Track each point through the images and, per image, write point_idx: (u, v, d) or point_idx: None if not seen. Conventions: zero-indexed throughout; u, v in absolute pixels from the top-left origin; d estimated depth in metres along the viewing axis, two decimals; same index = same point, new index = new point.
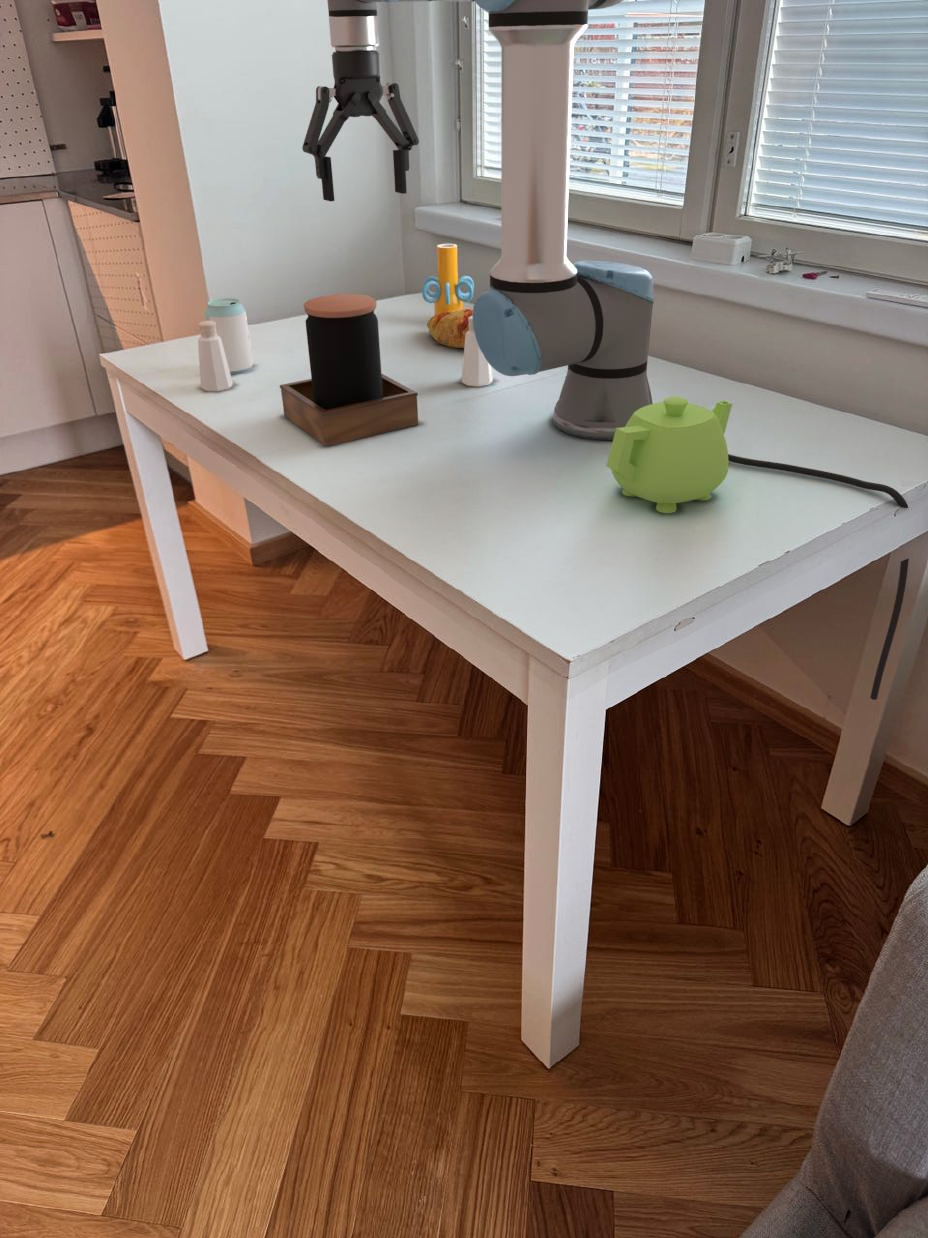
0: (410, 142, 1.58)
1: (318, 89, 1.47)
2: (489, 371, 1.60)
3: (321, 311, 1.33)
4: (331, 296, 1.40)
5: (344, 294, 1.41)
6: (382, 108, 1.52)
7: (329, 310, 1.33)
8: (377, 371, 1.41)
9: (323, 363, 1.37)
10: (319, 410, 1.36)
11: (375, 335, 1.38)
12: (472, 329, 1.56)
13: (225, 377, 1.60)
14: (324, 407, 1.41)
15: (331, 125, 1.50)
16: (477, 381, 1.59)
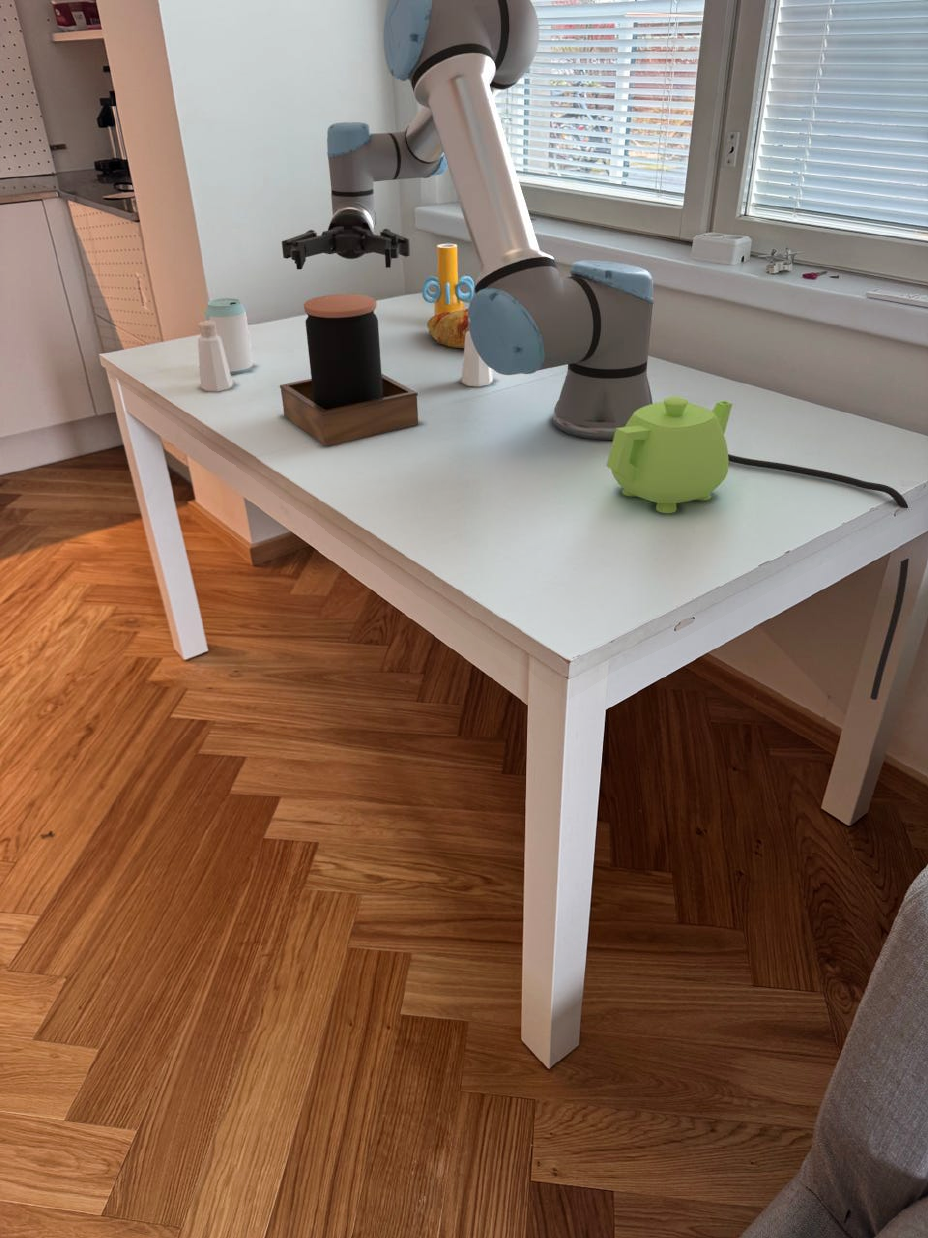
0: (400, 242, 1.50)
1: None
2: (489, 371, 1.60)
3: (321, 311, 1.33)
4: (331, 296, 1.40)
5: (344, 294, 1.41)
6: (367, 230, 1.53)
7: (329, 310, 1.33)
8: (377, 371, 1.41)
9: (323, 363, 1.37)
10: (319, 410, 1.36)
11: (375, 335, 1.38)
12: None
13: (225, 377, 1.60)
14: (324, 407, 1.41)
15: None
16: (477, 381, 1.59)
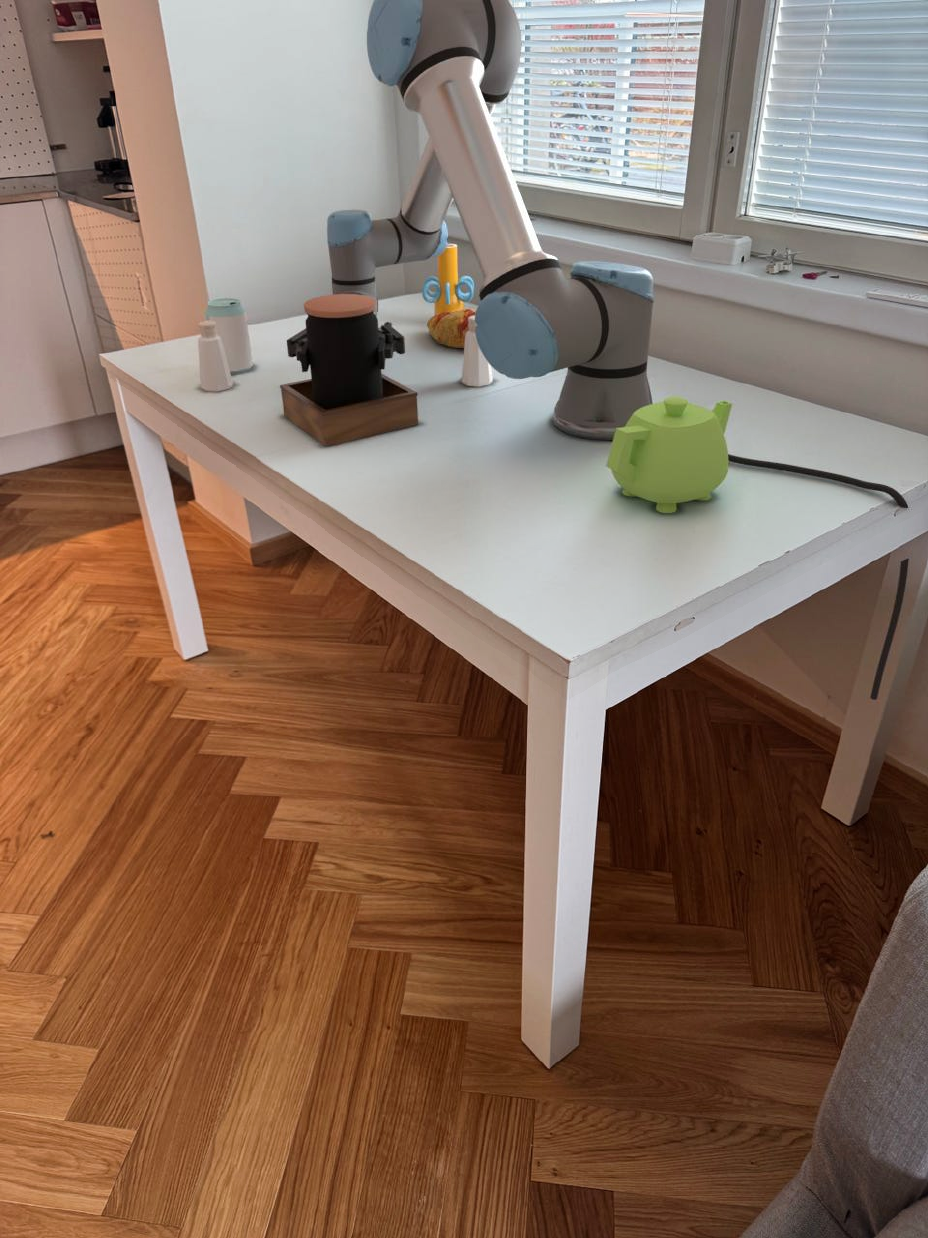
0: (395, 340, 1.44)
1: None
2: (489, 371, 1.60)
3: (321, 311, 1.33)
4: (331, 296, 1.40)
5: (344, 294, 1.41)
6: None
7: (329, 310, 1.33)
8: (377, 371, 1.41)
9: (323, 363, 1.37)
10: (319, 410, 1.36)
11: (375, 335, 1.38)
12: (472, 329, 1.56)
13: (225, 377, 1.60)
14: (324, 407, 1.41)
15: None
16: (477, 381, 1.59)
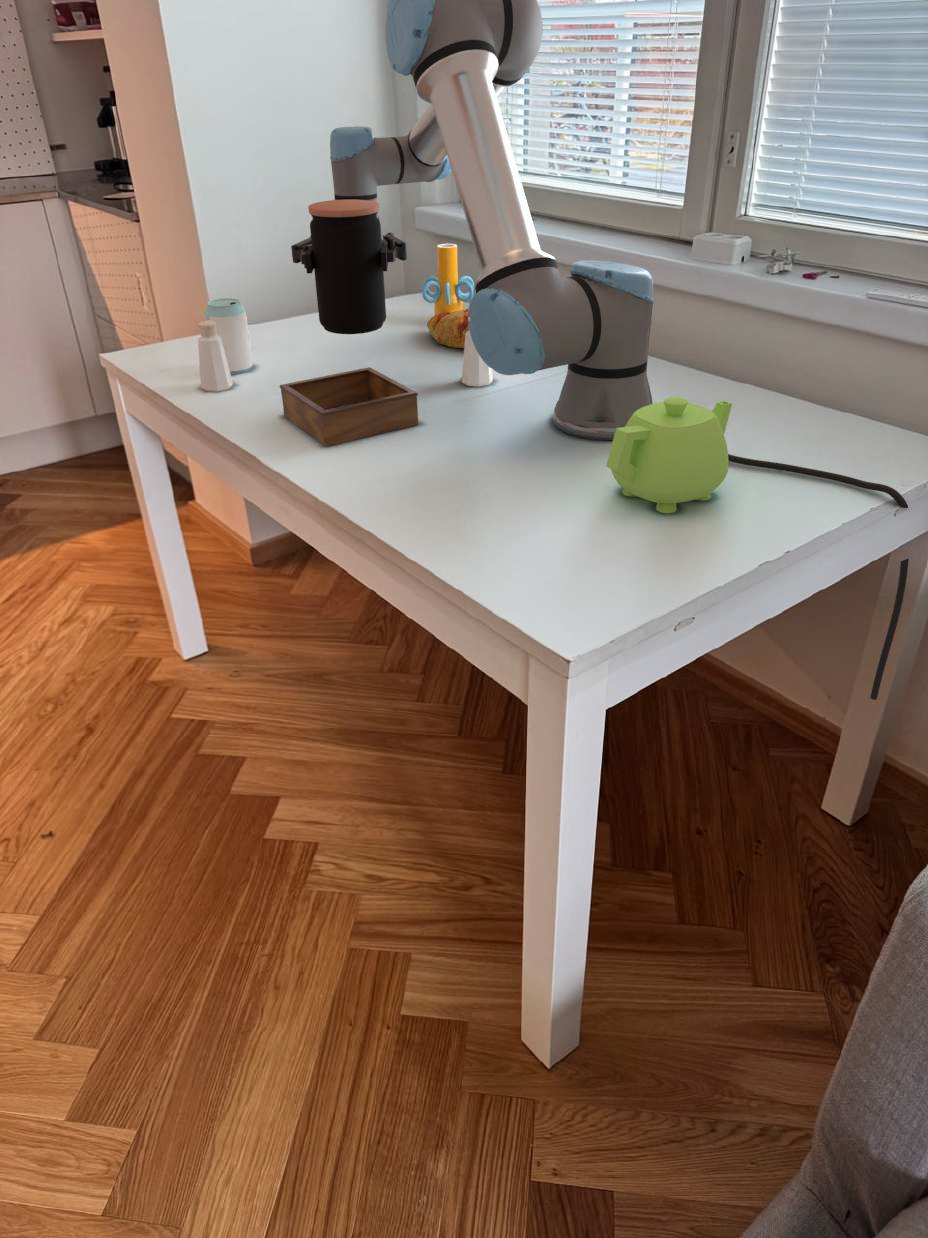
0: (397, 246, 1.47)
1: None
2: (489, 371, 1.60)
3: (325, 210, 1.37)
4: (335, 201, 1.44)
5: None
6: None
7: (333, 209, 1.37)
8: (380, 274, 1.44)
9: (327, 264, 1.41)
10: (319, 410, 1.36)
11: (378, 237, 1.42)
12: None
13: (225, 377, 1.60)
14: (328, 310, 1.45)
15: None
16: (477, 381, 1.59)
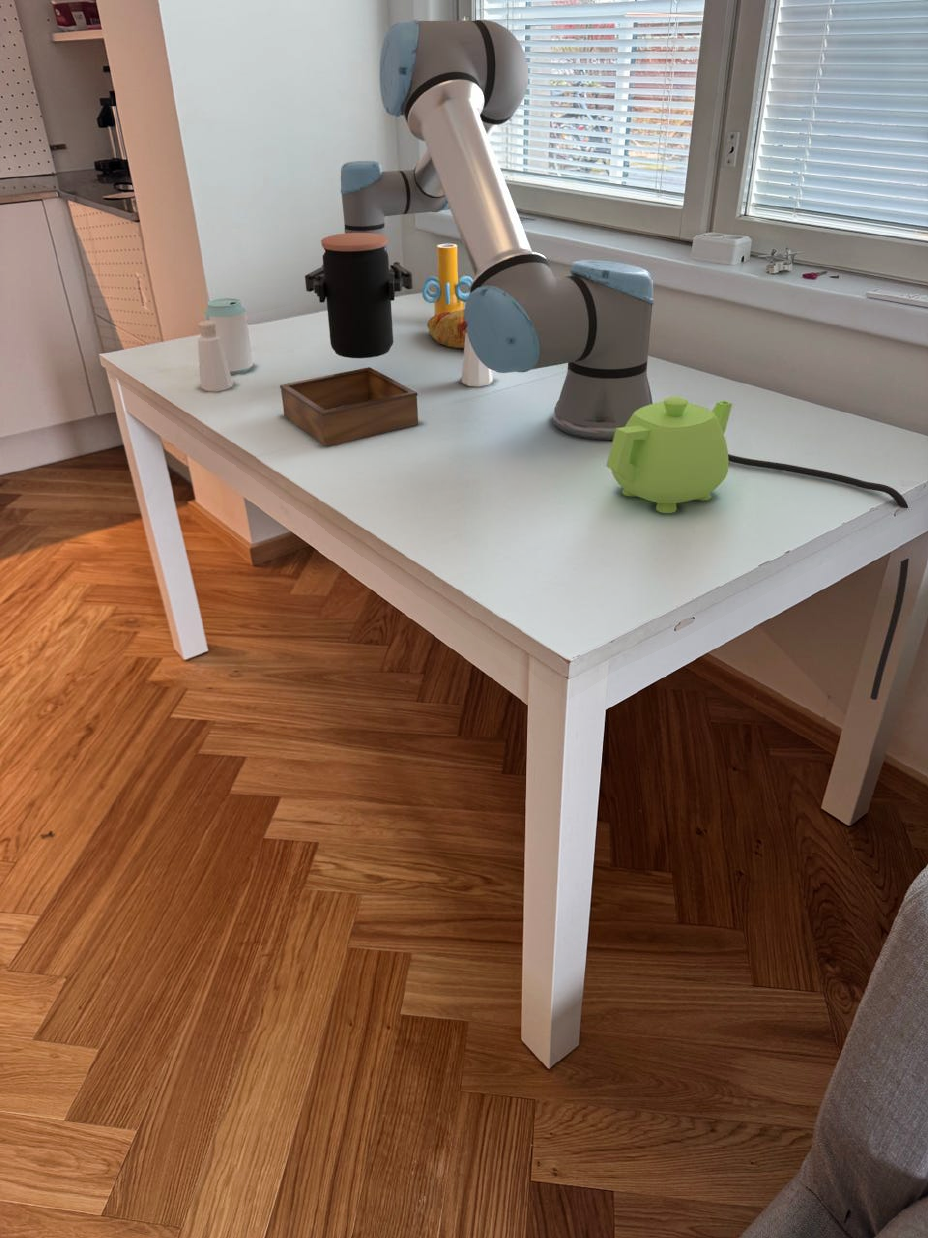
0: (403, 276, 1.58)
1: None
2: (489, 371, 1.60)
3: (337, 245, 1.47)
4: (346, 234, 1.54)
5: (357, 233, 1.55)
6: None
7: (345, 244, 1.47)
8: (387, 303, 1.55)
9: (338, 294, 1.51)
10: (319, 410, 1.36)
11: (386, 269, 1.52)
12: None
13: (225, 377, 1.60)
14: (339, 336, 1.55)
15: None
16: (477, 381, 1.59)
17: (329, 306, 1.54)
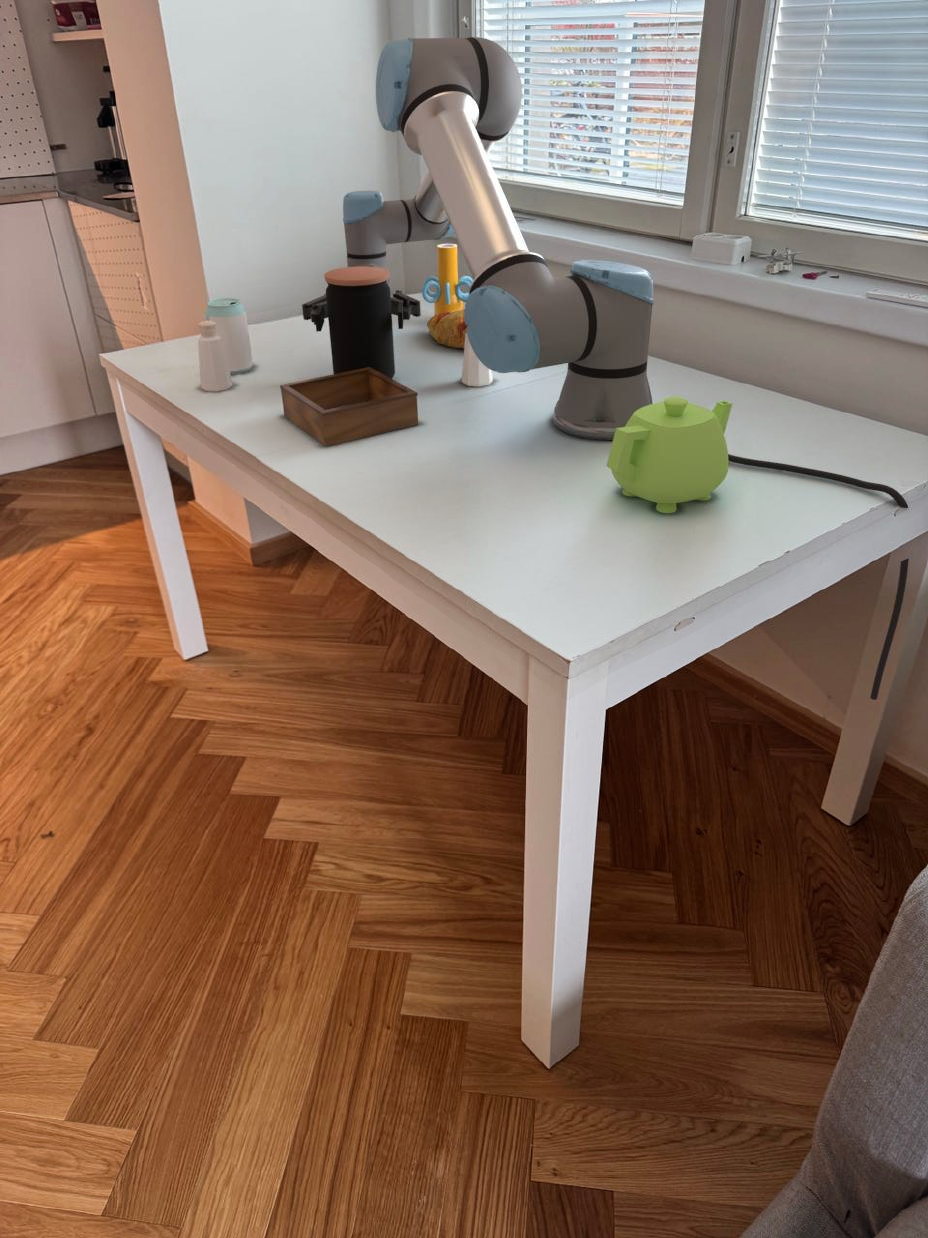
0: (412, 304, 1.61)
1: None
2: (489, 371, 1.60)
3: (340, 280, 1.50)
4: (348, 268, 1.57)
5: (360, 266, 1.58)
6: None
7: (347, 279, 1.50)
8: (389, 335, 1.58)
9: (341, 327, 1.54)
10: (319, 410, 1.36)
11: (388, 302, 1.55)
12: None
13: (225, 377, 1.60)
14: (342, 367, 1.58)
15: None
16: (477, 381, 1.59)
17: (332, 338, 1.57)
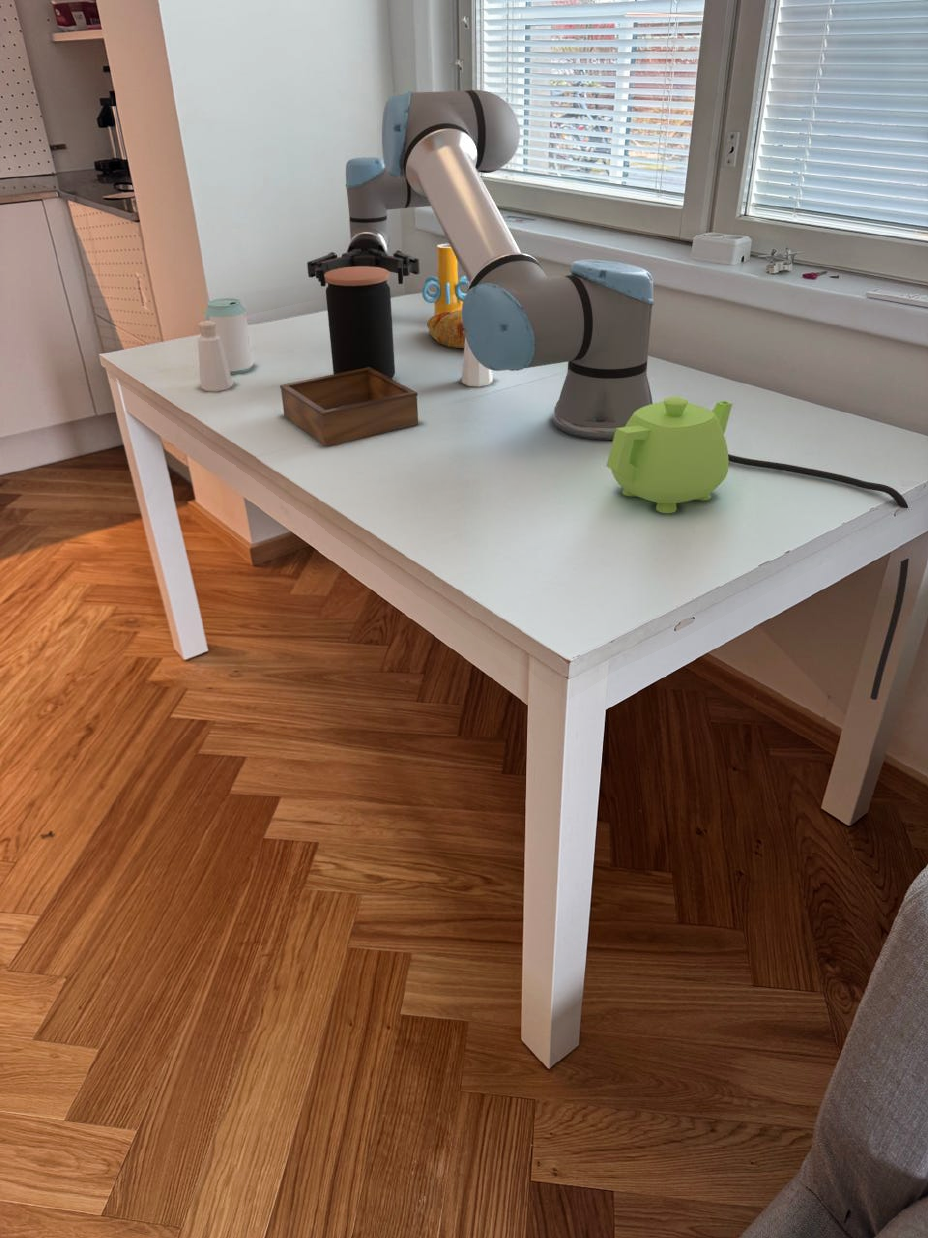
0: (411, 262, 1.70)
1: None
2: (489, 371, 1.60)
3: (340, 280, 1.50)
4: (348, 268, 1.57)
5: (360, 266, 1.58)
6: (382, 251, 1.74)
7: (347, 279, 1.50)
8: (389, 335, 1.58)
9: (341, 327, 1.54)
10: (319, 410, 1.36)
11: (388, 302, 1.55)
12: None
13: (225, 377, 1.60)
14: (342, 367, 1.58)
15: None
16: (477, 381, 1.59)
17: (332, 338, 1.57)
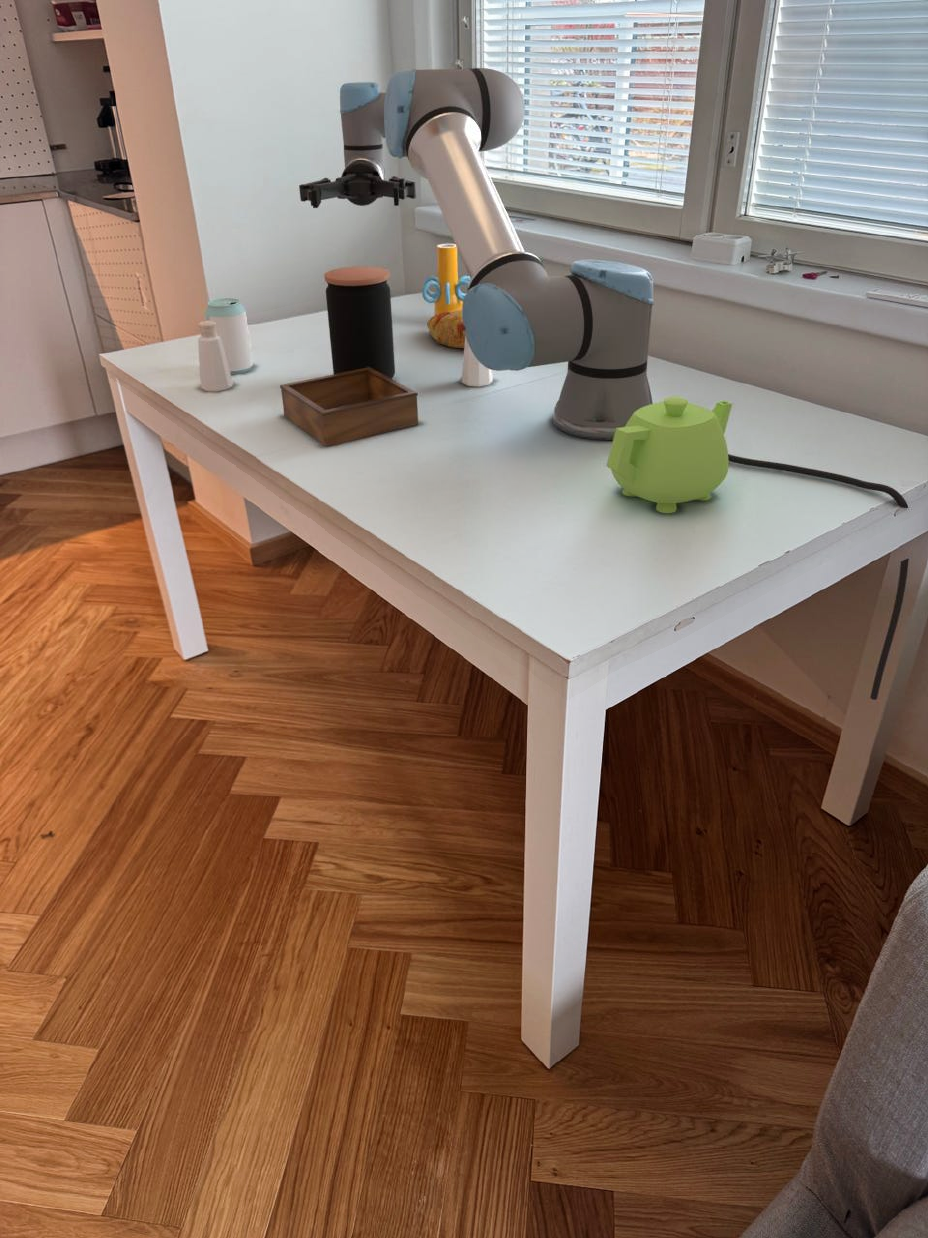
0: (407, 185, 1.63)
1: None
2: (489, 371, 1.60)
3: (340, 280, 1.50)
4: (348, 268, 1.57)
5: (360, 266, 1.58)
6: (377, 176, 1.67)
7: (347, 279, 1.50)
8: (389, 335, 1.58)
9: (341, 327, 1.54)
10: (319, 410, 1.36)
11: (388, 302, 1.55)
12: None
13: (225, 377, 1.60)
14: (342, 367, 1.58)
15: None
16: (477, 381, 1.59)
17: (332, 338, 1.57)
